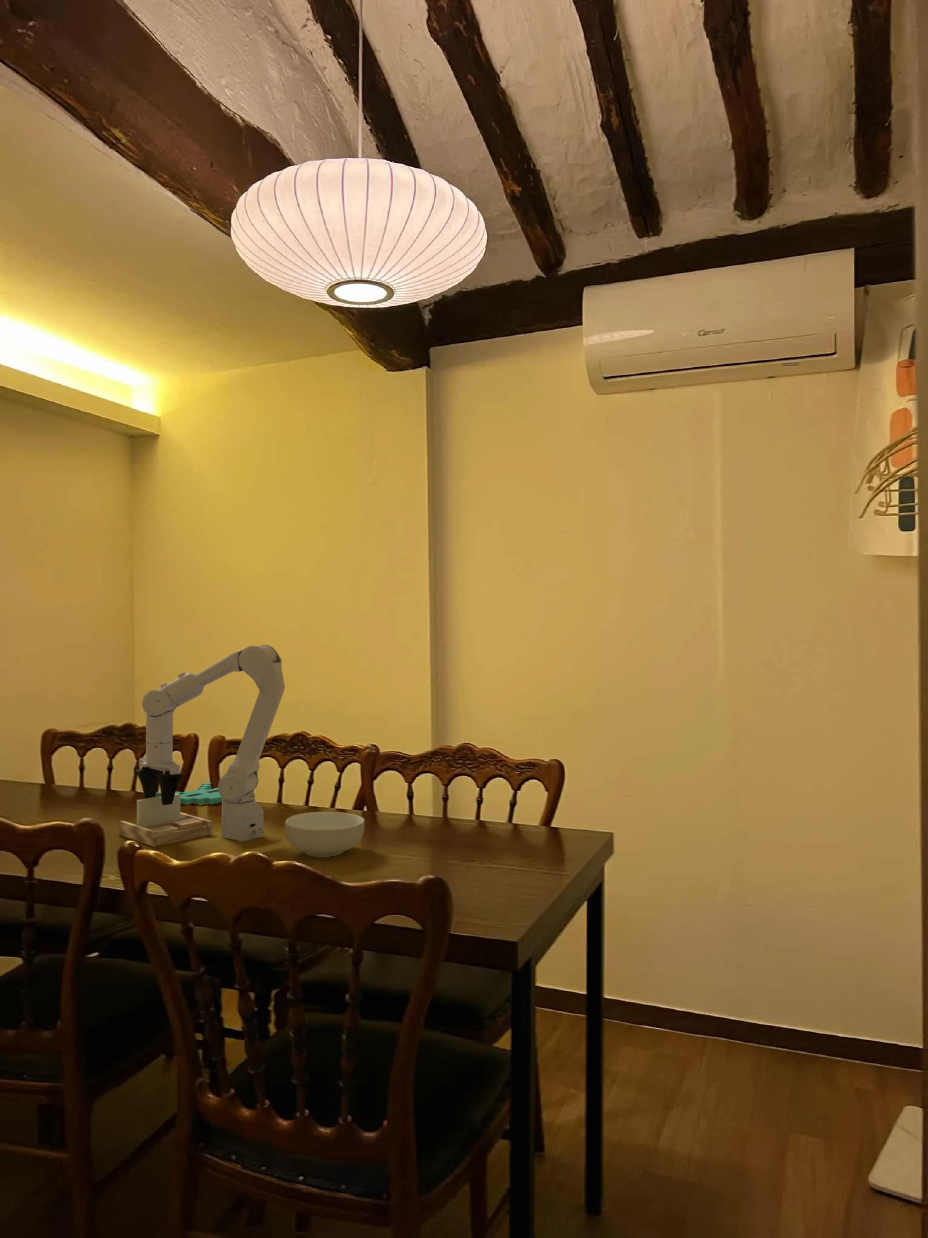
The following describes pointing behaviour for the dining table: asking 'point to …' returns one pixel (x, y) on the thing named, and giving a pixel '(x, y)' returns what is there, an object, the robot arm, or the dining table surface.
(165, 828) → the ash offcut
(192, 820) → the oak offcut
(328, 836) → the cereal bowl
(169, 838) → the rack
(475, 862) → the dining table surface
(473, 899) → the dining table surface
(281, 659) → the robot arm
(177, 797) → the sheet
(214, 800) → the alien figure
